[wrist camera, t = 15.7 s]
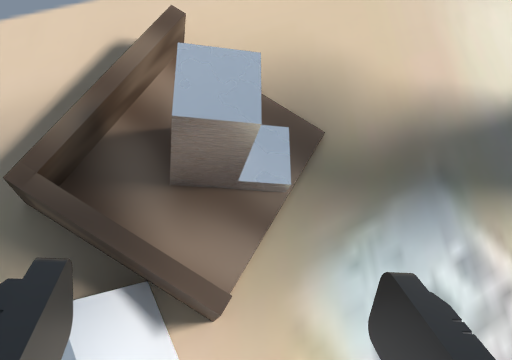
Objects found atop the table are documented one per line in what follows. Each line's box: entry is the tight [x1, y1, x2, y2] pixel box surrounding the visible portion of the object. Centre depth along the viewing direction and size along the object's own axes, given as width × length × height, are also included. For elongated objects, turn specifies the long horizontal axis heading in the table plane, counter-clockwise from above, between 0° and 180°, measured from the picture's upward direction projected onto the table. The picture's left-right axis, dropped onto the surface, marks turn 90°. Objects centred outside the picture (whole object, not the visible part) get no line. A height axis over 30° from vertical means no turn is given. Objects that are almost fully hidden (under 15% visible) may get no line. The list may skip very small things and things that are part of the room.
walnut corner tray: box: [3, 5, 325, 321], centre depth 28 cm, size 16×14×4 cm
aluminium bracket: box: [170, 42, 291, 192], centre depth 26 cm, size 8×4×9 cm, turn 90°
